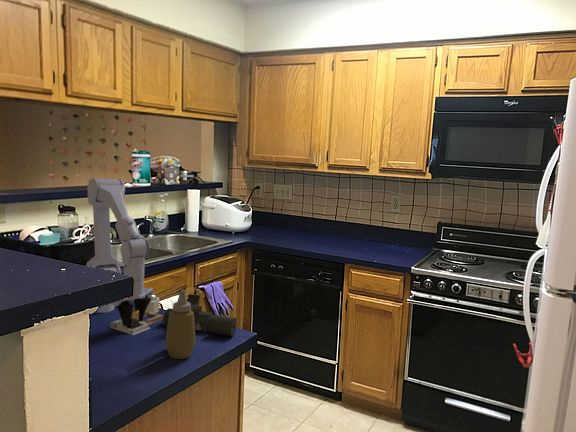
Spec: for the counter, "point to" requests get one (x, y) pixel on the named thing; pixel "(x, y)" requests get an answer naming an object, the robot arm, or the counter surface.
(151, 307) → the cup
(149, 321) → the tan square tray
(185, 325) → the squeeze bottle
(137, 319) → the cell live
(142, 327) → the cradle
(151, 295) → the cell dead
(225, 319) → the laser sight
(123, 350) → the counter surface
